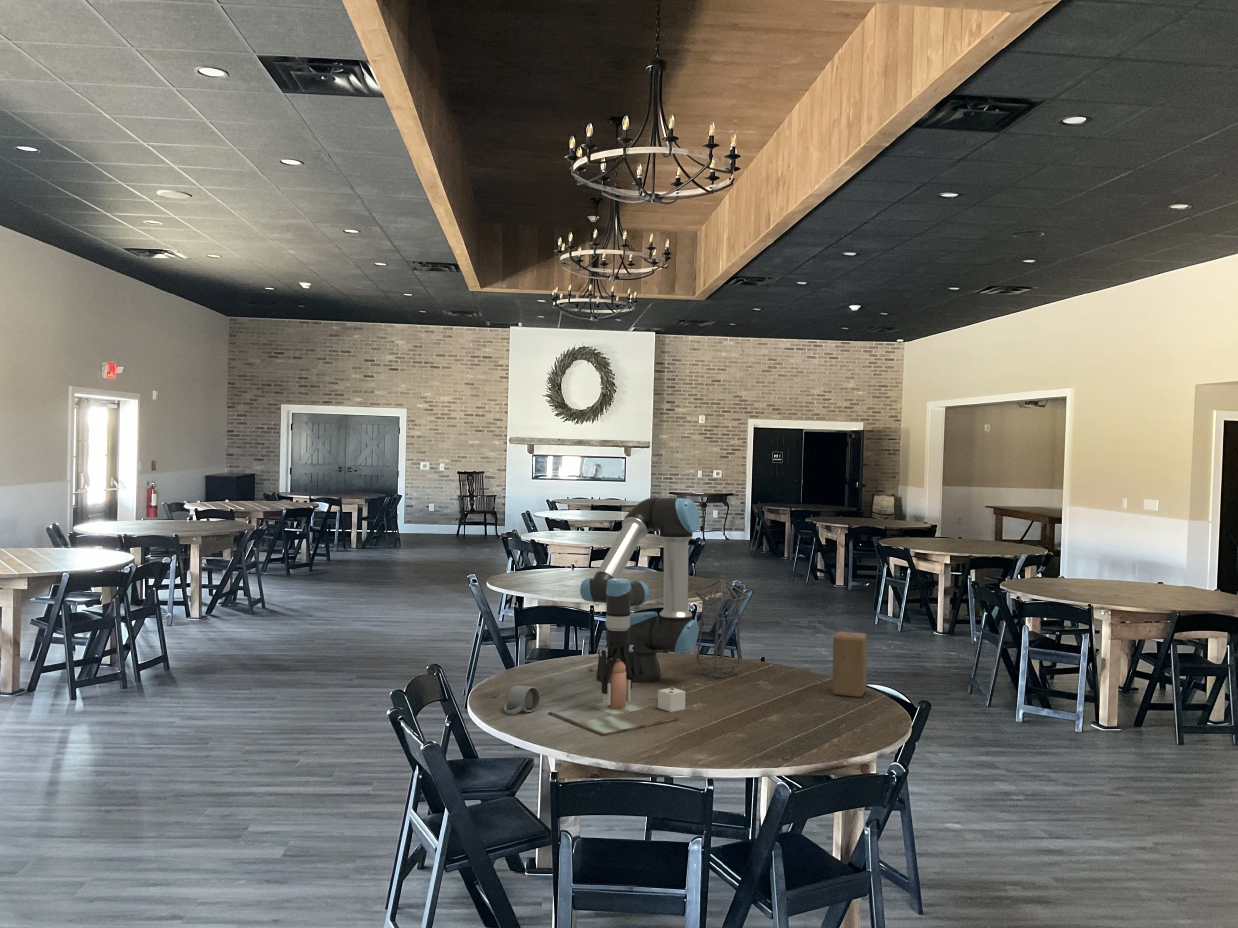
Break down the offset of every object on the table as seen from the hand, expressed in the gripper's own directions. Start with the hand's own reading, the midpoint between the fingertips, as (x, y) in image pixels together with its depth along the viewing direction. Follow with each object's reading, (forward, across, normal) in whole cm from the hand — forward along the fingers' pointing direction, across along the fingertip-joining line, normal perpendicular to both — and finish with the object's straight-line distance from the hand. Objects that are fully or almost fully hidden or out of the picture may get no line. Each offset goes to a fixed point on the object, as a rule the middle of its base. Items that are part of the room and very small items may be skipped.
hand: (616, 701), depth 289 cm
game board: (+2, +7, +7) cm, 10 cm away
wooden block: (+2, -77, +29) cm, 82 cm away
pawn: (+1, 0, 0) cm, 1 cm away
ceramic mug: (+2, +26, -15) cm, 30 cm away
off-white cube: (+2, -13, +11) cm, 17 cm away
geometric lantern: (+2, -60, -16) cm, 62 cm away
